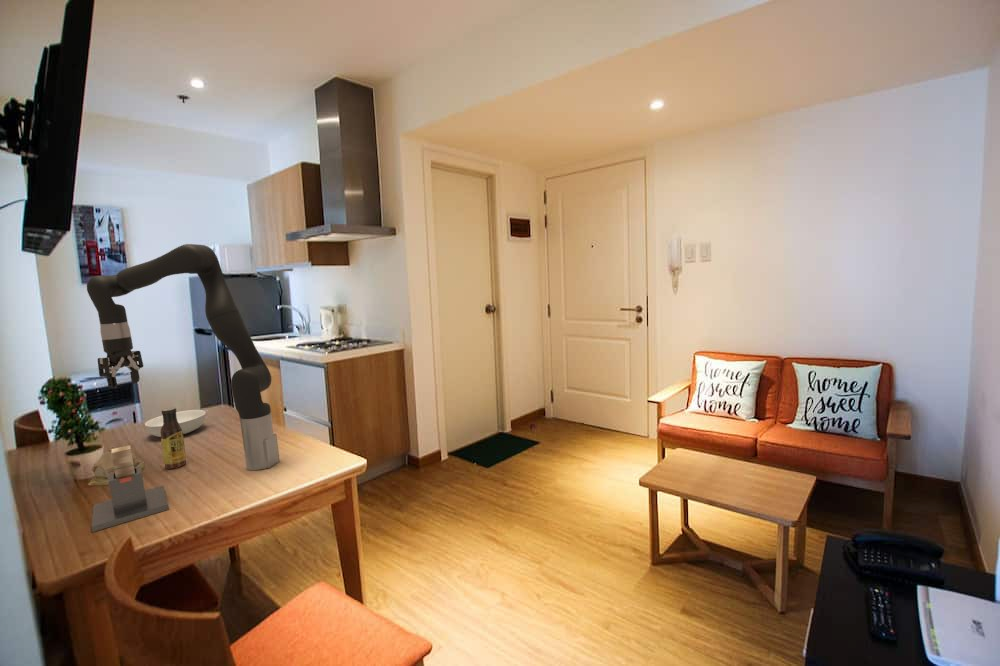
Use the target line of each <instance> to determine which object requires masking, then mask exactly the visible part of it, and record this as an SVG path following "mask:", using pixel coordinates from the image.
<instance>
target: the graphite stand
mask: <svg viewBox="0 0 1000 666" xmlns="http://www.w3.org/2000/svg"><path fill="white" fill-rule="evenodd" d="M134 469H135V474H132V475H128V476H124V477H120V478H116V476H115V472H113V473H109V485H108V486H109V492H110V497H111V499H108V500H106V501H101V502H98V503H95V504H93V508H92V518H91V531H92V533H94V532H99V531H101V530H105V529H108V528H112V527H115V526H118V525H121V524H122V525H123V524H125V523H127V522H131V521H135V520H138V519H141V518H145V517H147V516H151V515H155V514H159V513H161V512H165V511H167V510H170V508H169V501H168V499H167V494H166V490H165V485H159V486H157V487H154V488H149V489H146V490H145V485H144V478H143V471H141V466H138V467H134Z"/></svg>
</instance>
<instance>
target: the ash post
mask: <svg viewBox="0 0 1000 666" xmlns="http://www.w3.org/2000/svg"><path fill="white" fill-rule="evenodd" d="M131 447H132V446H131V444H130V445H129V444H127V445H125V446H124V445H123V446H120V447H116V448H115V447H114V448H115V449H112V459H113V464H114V470H115V476H116V478H120V477H124V476H128V475H132V474H135V469H134V465H133V459H132V453H131V451H132V448H131Z"/></svg>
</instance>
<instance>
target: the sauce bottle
mask: <svg viewBox="0 0 1000 666" xmlns="http://www.w3.org/2000/svg"><path fill="white" fill-rule="evenodd" d="M176 412H177V408H176V407H169V408H164V409H161V416H162V415H163V423H164V424H163V426H162V428H161V432H160V433H161V437H160V443H161V448H162V449H161V451H162V458H163V464H164V468H165V469H167V470H172V469H177V468H180V467H183V466H185V465H186V464H187V456H186V455H187V453H186V445H185V438H184V435H183V431H182V429H181V427H180V425H179V423H178V421H177V417H176Z"/></svg>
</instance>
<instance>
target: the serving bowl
mask: <svg viewBox="0 0 1000 666" xmlns="http://www.w3.org/2000/svg"><path fill="white" fill-rule="evenodd" d="M206 415H207V412H206V411H205V410H202V409H188V410H182V411H181V410H180V411H176V417H177V421H178V423H179V425H180V427H181V429H182V431H183V436H185V435H187V434H189V433H191V432H193V431H196V430H197V429H199V428H201V426H202V425H203V424H204V422H205V420H206V417H207V416H206ZM163 424H164V423H163V415H162V414H161V415H160V416H156V417H154V418H151V419H149V420H147V421H146V422H145V423H144V426H145V429H146V431H147V432H148V433H149V435H150V434H151V435H152V436H155V437H159V438H161V433H160V432H161V428H162V426H163Z"/></svg>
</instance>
